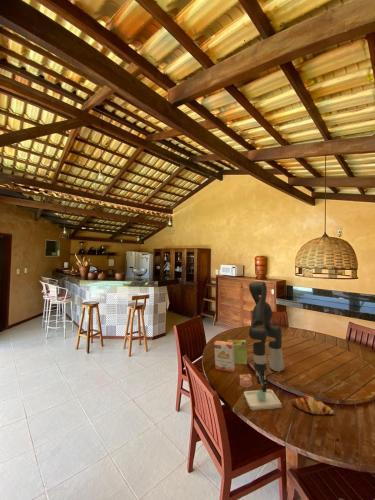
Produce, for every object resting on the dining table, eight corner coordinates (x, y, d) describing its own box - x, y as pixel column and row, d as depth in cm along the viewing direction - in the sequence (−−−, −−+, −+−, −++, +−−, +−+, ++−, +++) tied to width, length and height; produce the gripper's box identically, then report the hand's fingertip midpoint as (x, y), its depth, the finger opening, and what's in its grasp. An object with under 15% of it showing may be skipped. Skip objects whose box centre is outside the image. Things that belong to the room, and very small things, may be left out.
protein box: (247, 364, 183) (246, 345, 184) (228, 363, 187) (226, 344, 187) (246, 358, 194) (245, 339, 194) (228, 357, 197) (227, 339, 197)
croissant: (333, 417, 127) (332, 400, 130) (335, 420, 119) (333, 402, 122) (291, 407, 136) (291, 391, 140) (290, 408, 128) (290, 392, 132)
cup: (250, 379, 161) (249, 372, 161) (254, 386, 153) (253, 378, 153) (238, 380, 161) (237, 373, 161) (241, 387, 153) (241, 379, 153)
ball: (264, 396, 141) (263, 387, 141) (267, 402, 136) (267, 392, 136) (255, 397, 141) (255, 388, 141) (258, 403, 135) (258, 393, 135)
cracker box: (215, 369, 178) (213, 342, 178) (217, 366, 183) (216, 340, 183) (233, 372, 172) (231, 345, 172) (235, 368, 177) (233, 342, 178)
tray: (271, 392, 146) (271, 389, 146) (281, 407, 132) (281, 403, 132) (243, 395, 145) (243, 391, 145) (250, 410, 131) (250, 406, 131)
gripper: (270, 365, 131) (272, 394, 131) (261, 354, 146) (263, 379, 146) (258, 367, 131) (259, 395, 131) (249, 355, 145) (251, 381, 145)
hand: (261, 387), depth 138 cm, fingers open, 8 cm apart
